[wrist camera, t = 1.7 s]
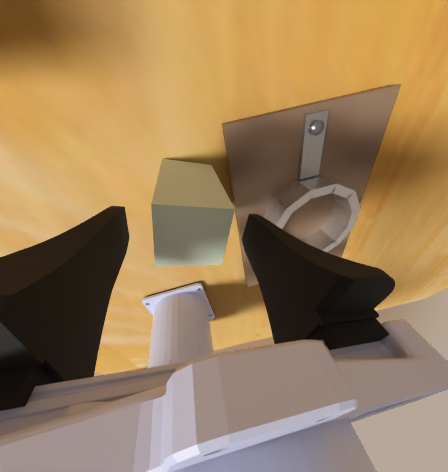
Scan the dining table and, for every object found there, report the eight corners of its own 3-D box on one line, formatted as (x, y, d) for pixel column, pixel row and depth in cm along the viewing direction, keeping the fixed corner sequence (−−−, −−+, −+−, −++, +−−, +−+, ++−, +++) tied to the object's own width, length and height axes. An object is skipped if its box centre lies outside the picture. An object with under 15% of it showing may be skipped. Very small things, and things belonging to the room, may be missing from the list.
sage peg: (211, 164, 16) (234, 209, 9) (206, 206, 18) (221, 264, 12) (162, 158, 14) (151, 203, 8) (163, 203, 17) (155, 266, 11)
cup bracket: (335, 256, 27) (353, 274, 24) (245, 281, 26) (253, 303, 24) (389, 85, 15) (437, 82, 12) (222, 123, 14) (233, 129, 11)
